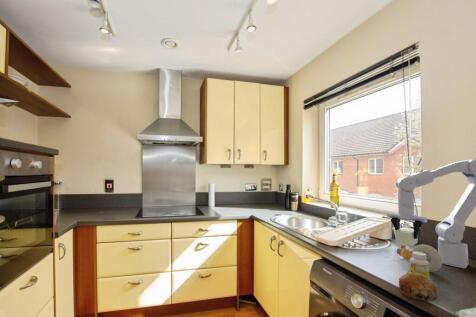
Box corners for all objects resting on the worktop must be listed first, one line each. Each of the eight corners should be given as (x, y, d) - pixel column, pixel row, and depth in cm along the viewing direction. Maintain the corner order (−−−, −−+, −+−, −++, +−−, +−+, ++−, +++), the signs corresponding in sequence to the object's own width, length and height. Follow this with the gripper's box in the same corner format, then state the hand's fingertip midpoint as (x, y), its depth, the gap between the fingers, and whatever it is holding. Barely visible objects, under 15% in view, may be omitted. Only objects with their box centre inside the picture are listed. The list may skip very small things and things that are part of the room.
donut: (409, 267, 102) (409, 242, 102) (414, 266, 104) (413, 240, 104) (439, 277, 93) (439, 248, 94) (444, 275, 95) (443, 247, 96)
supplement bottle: (430, 286, 86) (429, 257, 86) (410, 282, 89) (410, 254, 89) (428, 280, 91) (428, 252, 91) (410, 277, 93) (409, 250, 94)
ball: (411, 248, 111) (410, 255, 109) (413, 254, 113) (411, 262, 110) (401, 246, 114) (399, 253, 112) (402, 252, 116) (400, 259, 113)
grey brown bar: (426, 258, 112) (426, 254, 112) (425, 259, 111) (425, 254, 111) (397, 252, 120) (397, 248, 120) (397, 253, 120) (397, 248, 120)
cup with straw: (388, 248, 126) (387, 207, 126) (401, 246, 129) (400, 206, 130) (405, 254, 118) (404, 209, 119) (418, 251, 121) (417, 208, 122)
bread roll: (438, 307, 80) (438, 279, 83) (434, 304, 74) (435, 274, 76) (400, 296, 87) (402, 271, 90) (394, 293, 80) (396, 266, 83)
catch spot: (417, 259, 112) (417, 258, 112) (413, 262, 108) (413, 262, 108) (401, 255, 116) (401, 255, 116) (397, 258, 112) (397, 258, 112)
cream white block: (402, 239, 117) (402, 227, 117) (417, 242, 113) (417, 229, 113) (395, 243, 111) (395, 231, 111) (411, 246, 107) (410, 233, 107)
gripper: (384, 204, 116) (385, 235, 115) (423, 208, 105) (424, 242, 104) (390, 202, 120) (390, 232, 120) (428, 206, 109) (429, 239, 109)
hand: (406, 236), depth 112 cm, fingers closed on cream white block, 6 cm apart
